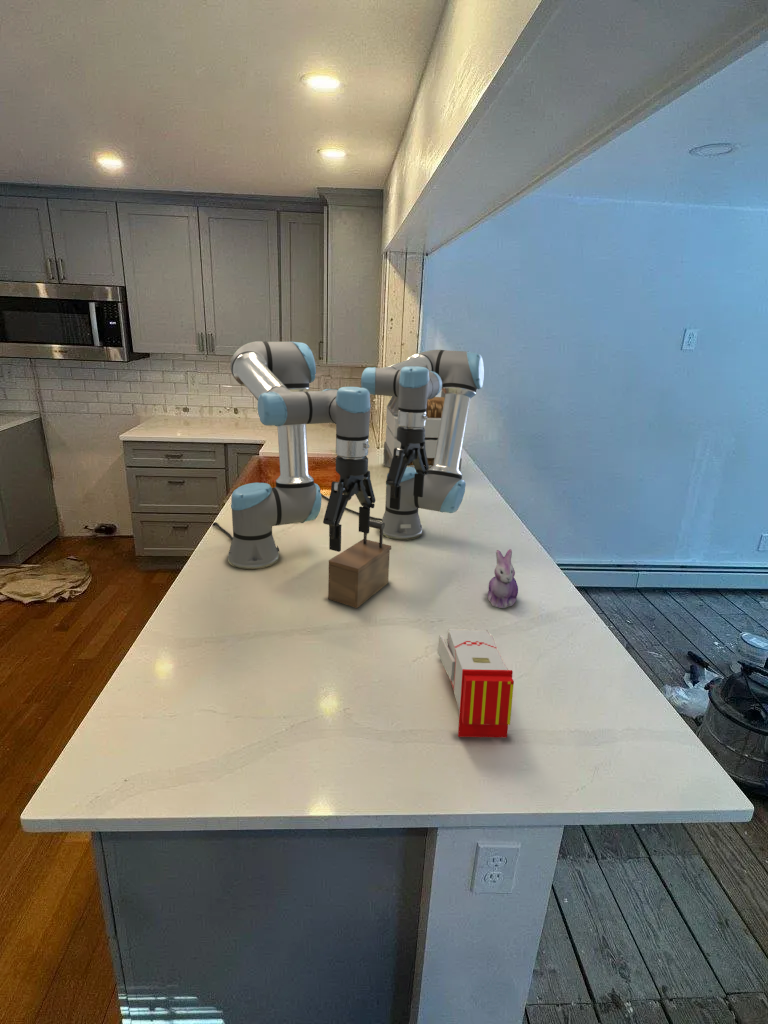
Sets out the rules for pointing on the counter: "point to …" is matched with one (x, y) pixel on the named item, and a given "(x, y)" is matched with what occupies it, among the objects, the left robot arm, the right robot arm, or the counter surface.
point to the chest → (358, 582)
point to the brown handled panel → (362, 552)
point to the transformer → (430, 427)
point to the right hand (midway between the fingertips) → (406, 502)
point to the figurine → (503, 582)
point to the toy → (478, 682)
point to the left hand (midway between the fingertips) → (350, 540)
